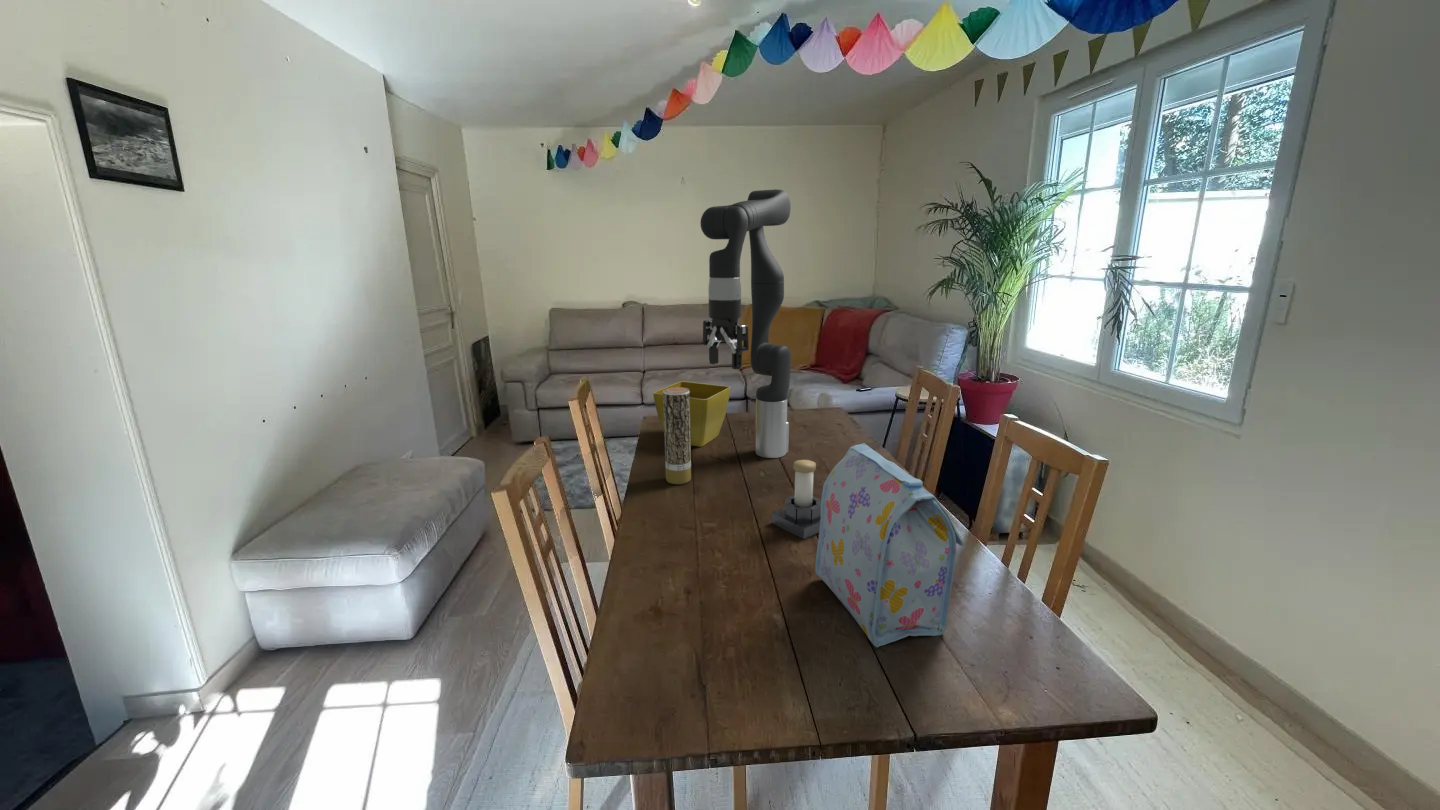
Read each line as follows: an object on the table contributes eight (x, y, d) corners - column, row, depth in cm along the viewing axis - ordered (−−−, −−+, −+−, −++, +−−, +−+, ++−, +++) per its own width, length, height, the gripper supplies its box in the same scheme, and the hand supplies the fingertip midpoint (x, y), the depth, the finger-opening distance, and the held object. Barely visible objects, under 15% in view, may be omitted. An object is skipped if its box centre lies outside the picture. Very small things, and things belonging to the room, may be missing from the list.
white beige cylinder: (802, 507, 135) (804, 458, 132) (818, 514, 131) (820, 464, 128) (787, 513, 132) (789, 463, 129) (803, 520, 128) (805, 469, 125)
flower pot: (731, 434, 196) (731, 385, 191) (706, 452, 179) (706, 399, 175) (681, 427, 203) (680, 380, 199) (653, 444, 187) (651, 393, 182)
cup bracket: (802, 510, 139) (802, 489, 137) (834, 525, 131) (835, 503, 130) (771, 522, 133) (771, 500, 131) (803, 539, 125) (804, 515, 124)
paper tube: (692, 476, 160) (691, 387, 154) (689, 486, 153) (687, 393, 147) (668, 475, 161) (665, 386, 154) (663, 485, 154) (660, 393, 148)
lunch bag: (964, 635, 94) (983, 482, 87) (871, 656, 89) (883, 495, 82) (887, 565, 115) (897, 437, 108) (809, 579, 110) (814, 446, 103)
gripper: (757, 298, 132) (756, 368, 136) (718, 294, 143) (718, 360, 147) (732, 300, 128) (732, 373, 132) (693, 296, 138) (694, 363, 143)
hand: (724, 366), depth 140 cm, fingers open, 8 cm apart
